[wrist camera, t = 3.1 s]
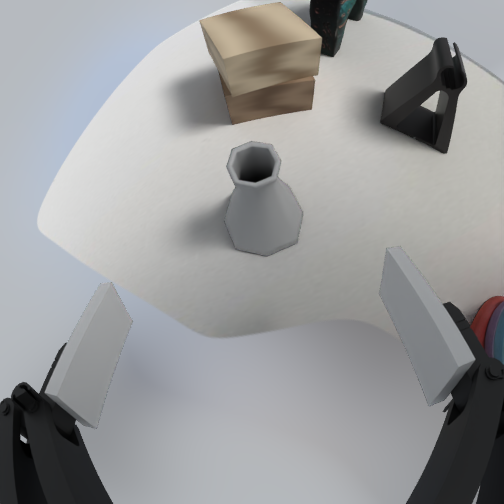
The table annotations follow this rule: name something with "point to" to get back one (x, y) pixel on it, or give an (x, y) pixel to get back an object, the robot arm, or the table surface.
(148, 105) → the table surface
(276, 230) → the flask
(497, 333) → the stacking bear
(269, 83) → the block upper
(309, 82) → the block lower
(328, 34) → the ceramic cat
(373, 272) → the table surface
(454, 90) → the phone stand
